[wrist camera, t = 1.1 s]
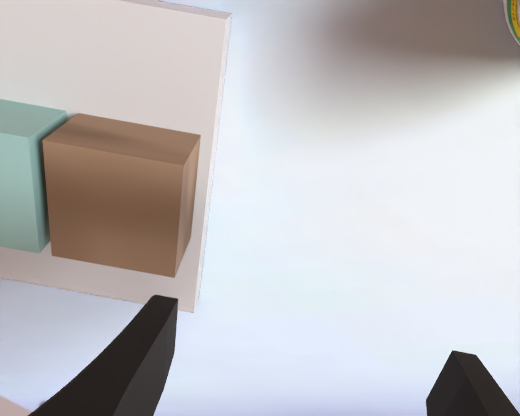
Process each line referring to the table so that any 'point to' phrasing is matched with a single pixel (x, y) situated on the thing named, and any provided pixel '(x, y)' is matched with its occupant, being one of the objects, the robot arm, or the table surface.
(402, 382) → the table surface
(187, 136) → the brown square block
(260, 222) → the table surface
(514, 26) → the supplement bottle
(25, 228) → the mint green block
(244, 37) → the table surface
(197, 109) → the beige board
